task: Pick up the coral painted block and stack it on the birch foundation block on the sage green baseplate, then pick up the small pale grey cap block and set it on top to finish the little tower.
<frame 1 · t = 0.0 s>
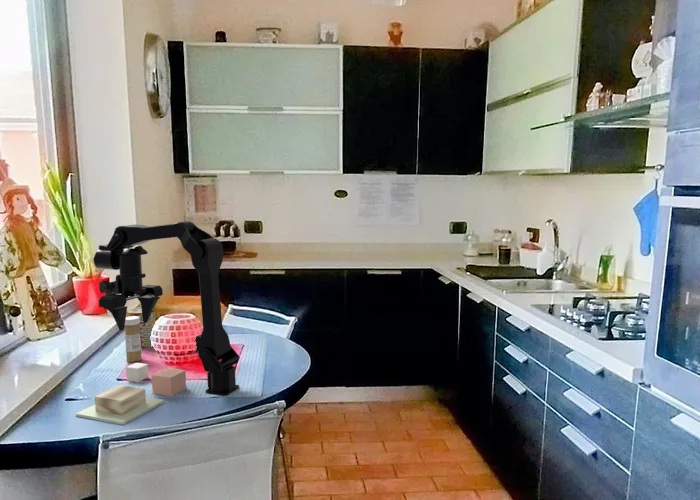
hand: (133, 326, 156), 15 cm above the table, tool pointing down, fingers open, 9 cm apart
coral block: (169, 391, 148), on the table
foundation block: (121, 406, 136), point 1 cm above the table, touching baseplate
baseplate: (121, 408, 136), on the table
beverage can: (142, 345, 189), on the table
cap block: (137, 379, 157), on the table
sprinkles bottle: (134, 360, 173), on the table
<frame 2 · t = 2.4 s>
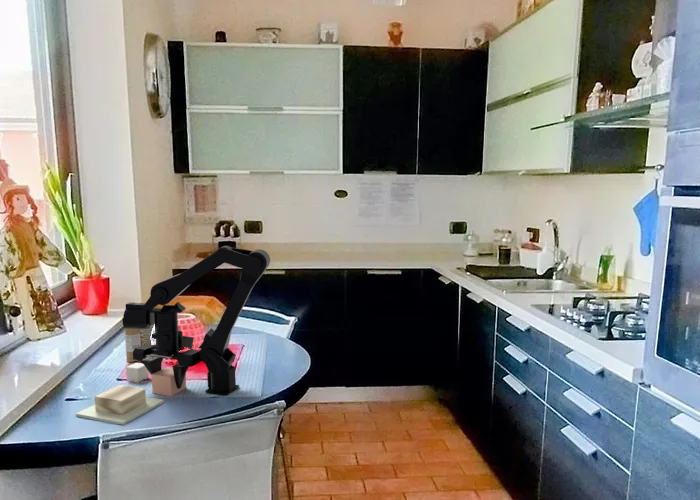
hand: (169, 386, 148), 1 cm above the table, tool pointing down, fingers closed on coral block, 6 cm apart
coral block: (169, 390, 148), on the table, touching gripper
everything else where it was.
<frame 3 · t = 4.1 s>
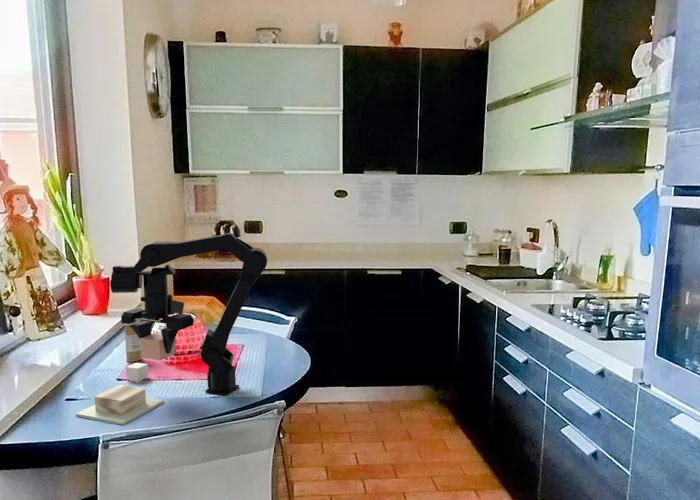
hand: (158, 351, 144), 11 cm above the table, tool pointing down, fingers closed on coral block, 6 cm apart
coral block: (158, 355, 144), point 10 cm above the table, touching gripper
everything else where it was.
when the fingers open (6 cm above the table, at t = 6.1 s): coral block stays where it is, resting on foundation block.
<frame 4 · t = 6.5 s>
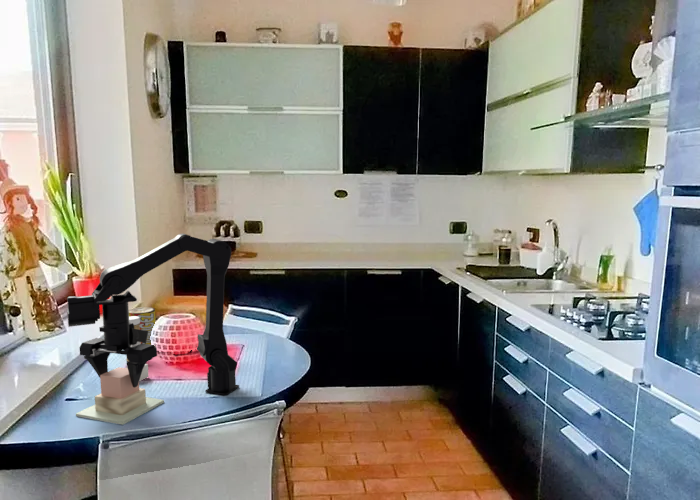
hand: (120, 384, 135), 6 cm above the table, tool pointing down, fingers open, 9 cm apart
coral block: (120, 392, 135), point 4 cm above the table, touching foundation block
foundation block: (121, 406, 136), point 1 cm above the table, touching baseplate, coral block
everything else where it was.
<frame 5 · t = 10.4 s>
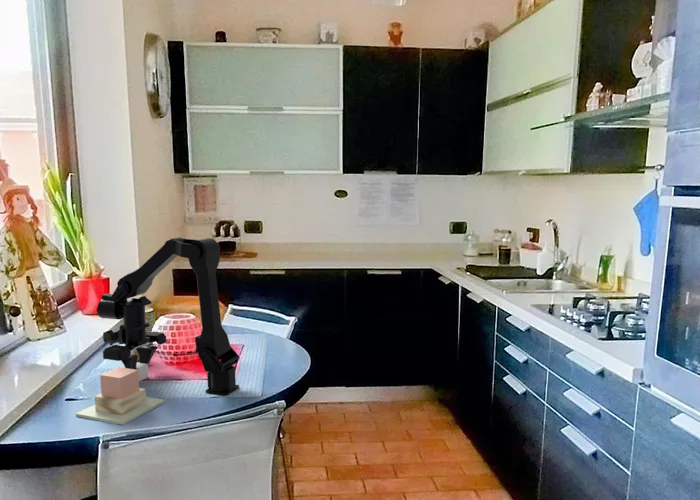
hand: (137, 375, 156), 1 cm above the table, tool pointing down, fingers closed on cap block, 4 cm apart
cap block: (137, 379, 157), on the table, touching gripper
everything else where it was.
when the fingers open (11 cm above the table, at t = 14.4 s): cap block stays where it is, resting on coral block.
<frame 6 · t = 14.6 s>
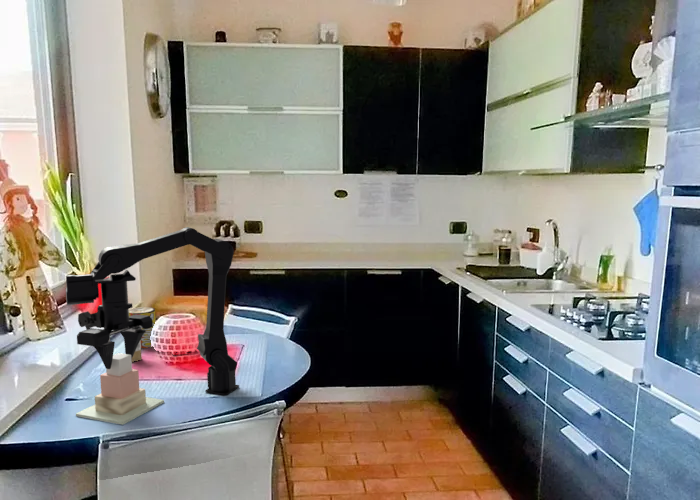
hand: (118, 364, 135), 11 cm above the table, tool pointing down, fingers open, 6 cm apart
coral block: (120, 392, 135), point 4 cm above the table, touching cap block, foundation block
cap block: (119, 372, 135), point 9 cm above the table, touching coral block
everything else where it was.
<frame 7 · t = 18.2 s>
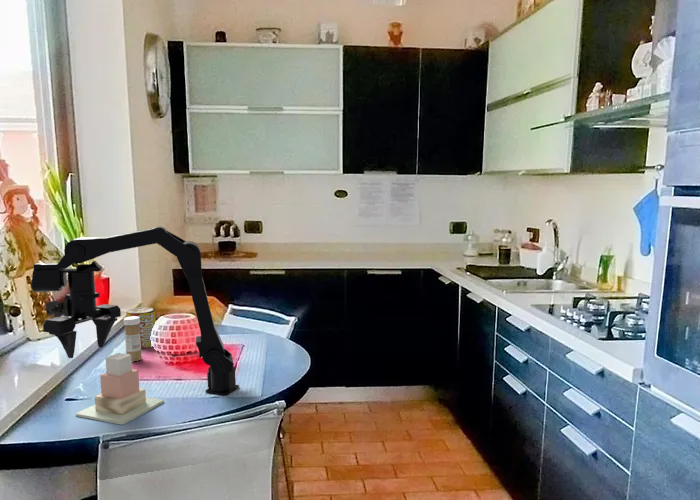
hand: (86, 352, 138), 13 cm above the table, tool pointing down, fingers open, 9 cm apart
at the end: coral block 0.1 cm off-centre on the foundation block, point 3.5 cm above the foundation block's base; cap block 0.1 cm off-centre on the foundation block, point 8.5 cm above the foundation block's base; foundation block moved 0.0 cm from its start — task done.
